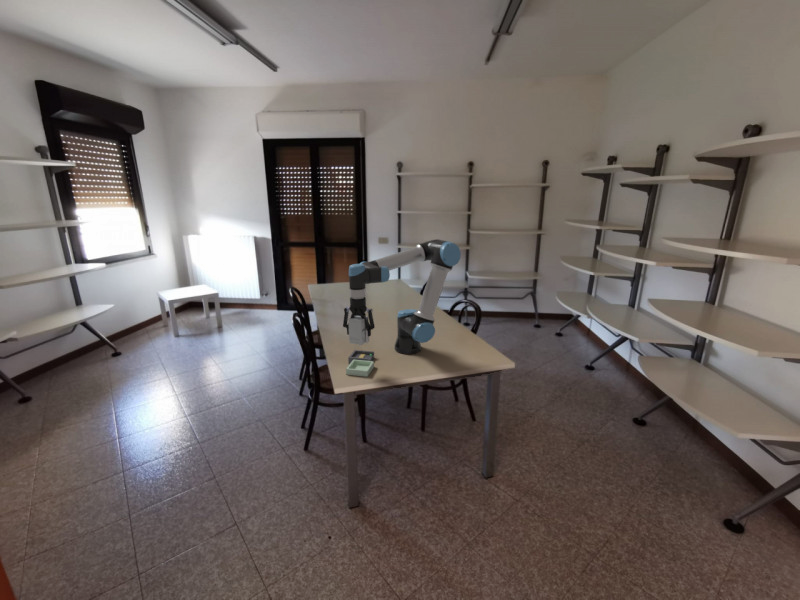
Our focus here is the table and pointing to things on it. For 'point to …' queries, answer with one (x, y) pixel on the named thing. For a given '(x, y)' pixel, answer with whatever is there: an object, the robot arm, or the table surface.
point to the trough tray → (360, 368)
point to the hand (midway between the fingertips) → (359, 341)
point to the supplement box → (357, 330)
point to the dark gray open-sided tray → (361, 355)
